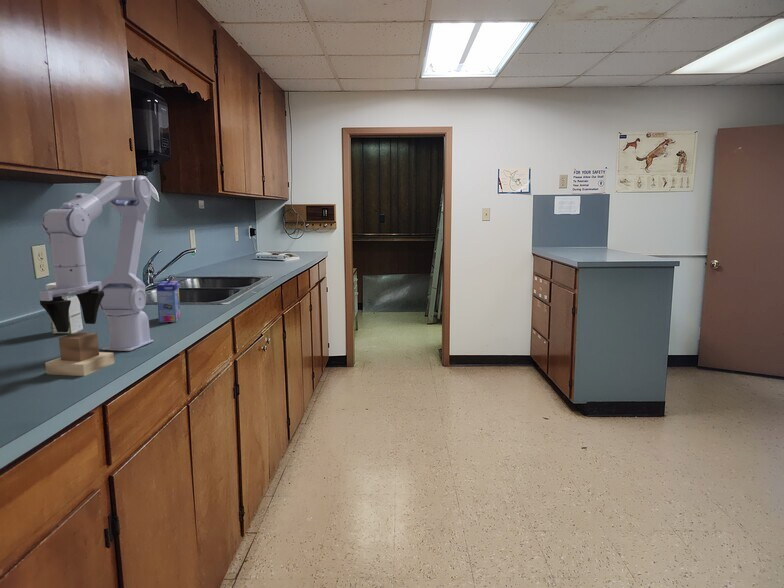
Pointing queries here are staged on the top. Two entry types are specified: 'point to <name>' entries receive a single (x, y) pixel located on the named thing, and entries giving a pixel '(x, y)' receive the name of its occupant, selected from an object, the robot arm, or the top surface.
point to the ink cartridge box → (168, 301)
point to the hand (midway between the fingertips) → (77, 327)
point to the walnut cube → (78, 346)
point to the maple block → (79, 365)
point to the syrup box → (73, 315)
